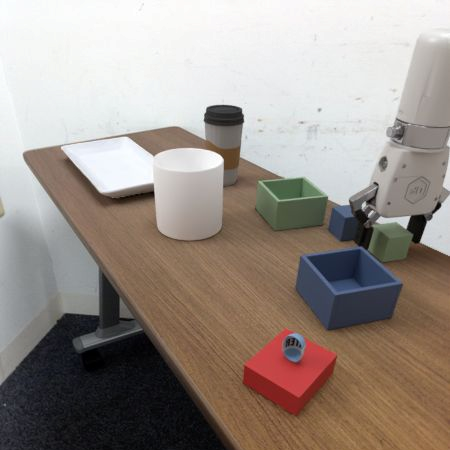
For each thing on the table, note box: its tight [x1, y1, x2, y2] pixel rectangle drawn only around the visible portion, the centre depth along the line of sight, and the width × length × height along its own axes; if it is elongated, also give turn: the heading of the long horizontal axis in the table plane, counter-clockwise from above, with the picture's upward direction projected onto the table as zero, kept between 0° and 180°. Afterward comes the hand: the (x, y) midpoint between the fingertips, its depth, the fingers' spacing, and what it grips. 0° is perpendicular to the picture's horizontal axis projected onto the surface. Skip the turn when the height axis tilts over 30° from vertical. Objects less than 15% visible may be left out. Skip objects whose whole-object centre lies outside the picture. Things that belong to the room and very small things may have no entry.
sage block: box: [367, 221, 413, 263], centre depth 69 cm, size 4×4×4 cm
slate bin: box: [295, 246, 404, 331], centre depth 58 cm, size 10×10×6 cm
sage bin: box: [255, 176, 329, 232], centre depth 79 cm, size 10×10×6 cm
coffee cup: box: [203, 104, 245, 187], centre depth 90 cm, size 8×8×15 cm
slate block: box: [327, 204, 369, 242], centre depth 74 cm, size 4×4×4 cm
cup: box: [152, 147, 224, 242], centre depth 73 cm, size 12×12×12 cm
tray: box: [60, 136, 155, 198], centre depth 95 cm, size 17×32×4 cm, turn 31°
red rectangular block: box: [242, 328, 338, 417], centre depth 46 cm, size 8×7×6 cm
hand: (386, 243), depth 69 cm, fingers open, 9 cm apart
